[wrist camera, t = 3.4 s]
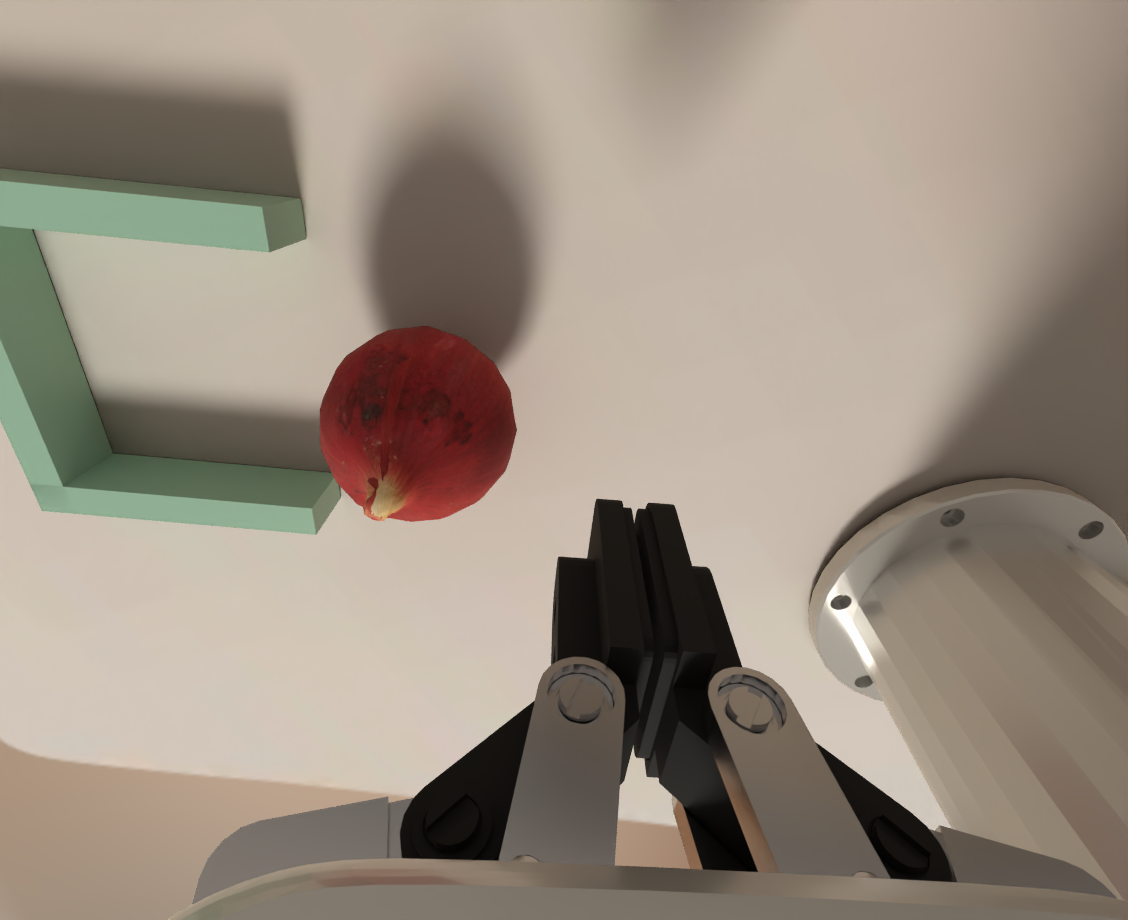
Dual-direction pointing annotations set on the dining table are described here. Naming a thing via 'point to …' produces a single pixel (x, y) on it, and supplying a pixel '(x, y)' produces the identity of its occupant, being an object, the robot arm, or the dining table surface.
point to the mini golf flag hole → (58, 384)
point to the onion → (416, 425)
